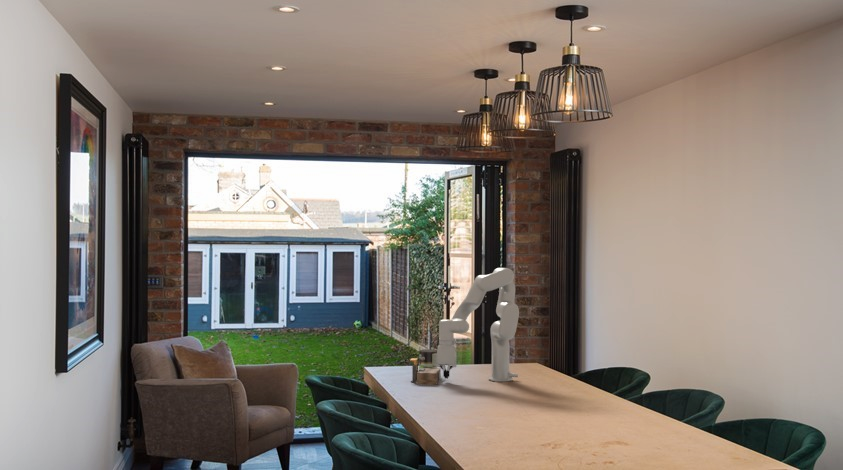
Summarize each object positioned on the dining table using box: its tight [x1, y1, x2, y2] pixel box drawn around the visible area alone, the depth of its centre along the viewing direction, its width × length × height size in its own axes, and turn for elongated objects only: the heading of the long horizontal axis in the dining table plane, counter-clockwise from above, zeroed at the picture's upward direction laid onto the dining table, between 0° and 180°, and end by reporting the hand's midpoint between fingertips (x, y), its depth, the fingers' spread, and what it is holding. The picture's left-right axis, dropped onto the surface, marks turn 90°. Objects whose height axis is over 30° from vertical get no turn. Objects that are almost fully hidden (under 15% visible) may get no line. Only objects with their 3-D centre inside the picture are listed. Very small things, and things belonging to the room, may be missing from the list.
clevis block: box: [410, 362, 442, 386], centre depth 418 cm, size 14×18×9 cm
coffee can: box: [418, 348, 438, 370], centre depth 437 cm, size 10×10×14 cm
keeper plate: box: [409, 357, 419, 370], centre depth 419 cm, size 3×5×6 cm, turn 172°
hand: (446, 378), depth 416 cm, fingers closed
